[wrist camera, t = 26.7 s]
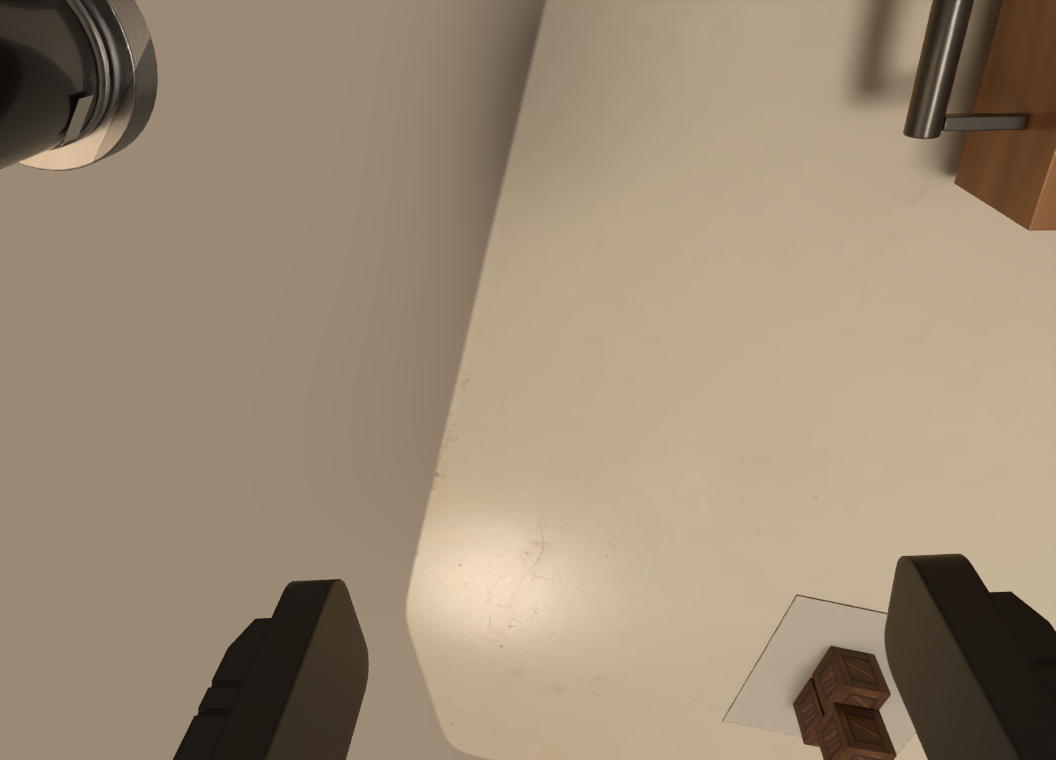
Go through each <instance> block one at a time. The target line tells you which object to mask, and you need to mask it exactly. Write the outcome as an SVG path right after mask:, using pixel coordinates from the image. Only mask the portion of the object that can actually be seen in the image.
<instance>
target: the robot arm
mask: <svg viewBox="0 0 1056 760" xmlns="http://www.w3.org/2000/svg"><path fill="white" fill-rule="evenodd" d="M109 93H110V70H109V64H108V59H107V55H106V51H105V48H104V45H103V42H102V39H101V37H100V34H99V32H98V30H97V28H96V26H95V24H94V22H93V20H92V19H91V17H90V15H89V14H88V12H87V11H86V9H85V8H84V6H83V5H82V3H81V2H80V1H79V0H0V169H2V168H5V167H7V166H10V165H12V164H15V163H17V162H20V161H23V160H25V159H28V158H30V157H33V156H35V155H38V154H40V153H43V152H45V151H49V150H54V149H58V148H62V147H65V146H67V145H70V144H72V143H74V142H77V141H79V140H80V139H82V138H84V137H85V136H87V135H88V134H89V133H90V132H91V131H92V130H93V129H94V128H95V127H96V126H97V124H98V123H99V122H100V120H101V118H102V116H103V114H104V112H105V109H106V107H107V103H108V99H109ZM884 643H885V651H886V657H887V661H888V665H889V669H890V672H891V675H892V677H893V680H894V682H895V684H896V687H897V689H898V691H899V694H900V696H901V698H902V701H903V703H904V705H905V707H906V710H907V712H908V714H909V717H910V719H911V721H912V724H913V726H914V728H915V731H916V733H917V735H918V738H919V740H920V742H921V745H922V747H923V749H924V752H925V754H926V756H927V759H928V760H1056V631H1055V630H1054V628H1053V627H1052V625H1051V624H1050V623H1049V622H1048V621H1047V620H1046V619H1045V618H1043V617H1042V616H1041V615H1040V614H1038V613H1037V612H1036V611H1035V610H1033V609H1032V608H1031V607H1030V606H1028V605H1027V604H1026V603H1025V602H1023V601H1022V600H1021V599H1019V598H1018V597H1017V596H1016V595H1014V594H1013V593H1012V592H989V591H988V589H987V588H986V586H985V585H984V583H983V582H982V580H981V578H980V577H979V575H978V574H977V572H976V571H975V569H974V567H973V566H972V564H971V563H970V562H969V560H968V559H967V558H966V557H965V556H963V555H961V554H941V555H918V556H902V557H900V559H899V560H898V562H897V566H896V571H895V576H894V581H893V587H892V592H891V598H890V603H889V608H888V614H887V619H886V624H885V631H884ZM368 664H369V663H368V651H367V646H366V642H365V639H364V636H363V633H362V631H361V628H360V625H359V622H358V619H357V616H356V613H355V610H354V607H353V604H352V601H351V598H350V595H349V592H348V589H347V587H346V584H345V583H344V582H343V581H342V580H341V579H333V580H311V581H292V582H291V583H289V584H288V585H287V586H286V588H285V590H284V592H283V594H282V596H281V598H280V601H279V602H278V605H277V607H276V609H275V611H274V614H273V616H272V618H262V619H255V620H254V621H253V622H252V623H251V624H250V625H249V626H248V627H247V628H246V629H245V630H244V631H243V633H242V634H241V635H240V636H239V637H238V638H237V639H236V640H235V641H234V642H233V643H232V644H231V645H230V646H229V647H228V649H227V651H226V653H225V655H224V658H223V659H222V661H221V663H220V665H219V668H218V669H217V671H216V673H215V675H214V677H213V680H212V686H211V688H208V690H207V692H206V694H205V696H204V698H203V700H202V702H201V704H200V706H199V708H198V711H199V712H198V715H197V716H194V718H193V720H192V722H191V724H190V726H189V728H188V730H187V732H186V734H185V736H184V738H183V740H182V742H181V744H180V746H179V748H178V750H177V753H176V754H175V756H174V758H173V760H346V757H347V753H348V750H349V746H350V743H351V739H352V736H353V732H354V729H355V725H356V721H357V718H358V714H359V711H360V707H361V704H362V700H363V697H364V693H365V690H366V685H367V679H368V666H369V665H368Z"/></svg>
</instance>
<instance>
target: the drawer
mask: <svg viewBox="0 0 1056 760" xmlns="http://www.w3.org/2000/svg"><path fill="white" fill-rule="evenodd" d="M973 2H974V0H933V2H932V6H931V11H930V15H929V20H928V24H927V29H926V33H925V38H924V42H923V47H922V51H921V56H920V60H919V64H918V69H917V73H916V78H915V82H914V87H913V91H912V96H911V100H910V105H909V109H908V114H907V118H906V122H905V127H904V131H903V133H904V135H905V136H908V137H911V138H918V139H933V138H937V137H939V136H940V134H941V130H942V131H968V134H967V137H966V141H965V145H964V149H963V152H962V156H961V160H960V164H959V167H958V171H957V175H956V179H955V184H956V185H958V186H959V187H961V188H963V189H964V190H966V191H967V192H969V193H970V194H972V195H974V196H975V197H977V198H978V199H980V200H981V201H983V202H985V203H986V204H988V205H989V206H991V207H993V208H994V209H996V210H997V211H999V212H1000V213H1002V214H1004V215H1005V216H1007V217H1008V218H1010V219H1011V220H1013V221H1015V222H1016V223H1018V224H1019V225H1021V226H1022V227H1024V228H1026V229H1027V230H1056V0H1003V3H1002V7H1001V11H1000V14H999V18H998V22H997V25H996V29H995V33H994V37H993V40H992V44H991V48H990V52H989V55H988V59H987V63H986V67H985V70H984V74H983V78H982V81H981V85H980V89H979V93H978V96H977V100H976V104H975V108H974V111H973V114H946V110H947V106H948V102H949V98H950V94H951V90H952V86H953V82H954V78H955V74H956V70H957V66H958V62H959V58H960V54H961V50H962V46H963V42H964V38H965V34H966V30H967V26H968V22H969V18H970V14H971V10H972V6H973Z"/></svg>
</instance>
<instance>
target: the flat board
mask: <svg viewBox="0 0 1056 760" xmlns="http://www.w3.org/2000/svg"><path fill="white" fill-rule="evenodd" d="M886 619H887V614H884V613H879V612H874V611H869V610H864V609H859V608H854V607H850V606H845V605H840V604H835V603H830V602H825V601H820V600H816V599H811V598H806V597H801V596H797V597H796V599H795V600H794V602H793V604H792V605H791V607H790V609H789V610H788V612H787V614H786V615H785V617H784V619H783V620H782V622H781V624H780V626H779V627H778V629H777V631H776V632H775V634H774V636H773V637H772V639H771V641H770V642H769V644H768V646H767V647H766V649H765V651H764V653H763V654H762V656H761V658H760V659H759V661H758V663H757V664H756V666H755V668H754V669H753V671H752V673H751V674H750V676H749V678H748V680H747V681H746V683H745V685H744V686H743V688H742V690H741V691H740V693H739V695H738V696H737V698H736V700H735V701H734V703H733V705H732V707H731V708H730V710H729V712H728V713H727V715H726V717H725V718H724V720H723V722H727V723H733V724H738V725H743V726H748V727H753V728H758V729H764V730H769V731H774V732H779V733H784V734H790V735H795V736H800V737H802V739H803V742H804V744H806V745H811V746H817V747H820V749H821V752H822V755H823V759H824V760H894V759H895V757H896V756H897V754H898V753H899V752H900V751H901V750H902V748H903V747H904V746H905V745H906V744H907V742H908V741H909V740H910V739H911V738H912V736H913V735H914V734H915V733H916V731H915V728H914V726H913V724H912V721H911V719H910V717H909V714H908V712H907V710H906V707H905V705H904V703H903V701H902V698H901V696H900V694H899V691H898V689H897V687H896V684H895V682H894V680H893V677H892V675H891V672H890V669H889V665H888V661H887V657H886V651H885V643H884V631H885V624H886Z"/></svg>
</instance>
